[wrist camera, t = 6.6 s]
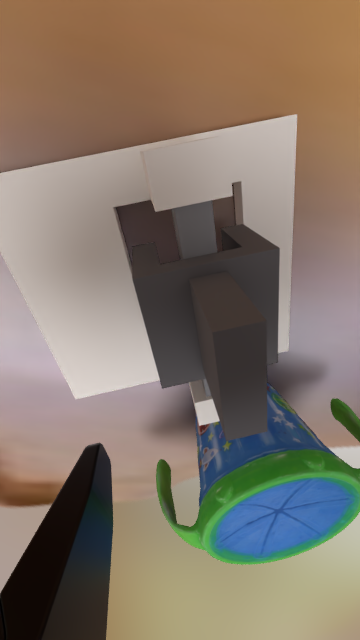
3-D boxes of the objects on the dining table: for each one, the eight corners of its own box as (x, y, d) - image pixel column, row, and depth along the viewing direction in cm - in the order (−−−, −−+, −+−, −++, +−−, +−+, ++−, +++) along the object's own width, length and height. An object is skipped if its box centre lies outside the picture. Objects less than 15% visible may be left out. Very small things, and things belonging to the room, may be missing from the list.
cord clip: (247, 318, 18) (321, 427, 11) (156, 338, 18) (171, 462, 11) (242, 223, 15) (342, 289, 8) (132, 246, 15) (132, 334, 8)
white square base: (279, 339, 23) (325, 398, 18) (78, 385, 23) (61, 461, 17) (283, 117, 15) (367, 97, 10) (-23, 177, 15) (-114, 193, 9)
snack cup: (318, 335, 24) (426, 441, 15) (315, 417, 29) (392, 531, 20) (135, 384, 24) (137, 520, 15) (166, 458, 29) (180, 589, 20)
